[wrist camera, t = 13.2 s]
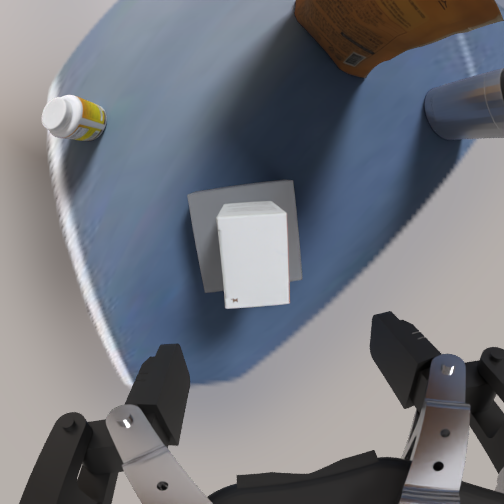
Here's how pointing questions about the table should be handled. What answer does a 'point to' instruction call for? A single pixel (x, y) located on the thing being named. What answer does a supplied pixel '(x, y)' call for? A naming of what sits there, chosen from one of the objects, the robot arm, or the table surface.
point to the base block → (212, 201)
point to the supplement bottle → (74, 118)
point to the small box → (254, 254)
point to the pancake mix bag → (387, 26)
